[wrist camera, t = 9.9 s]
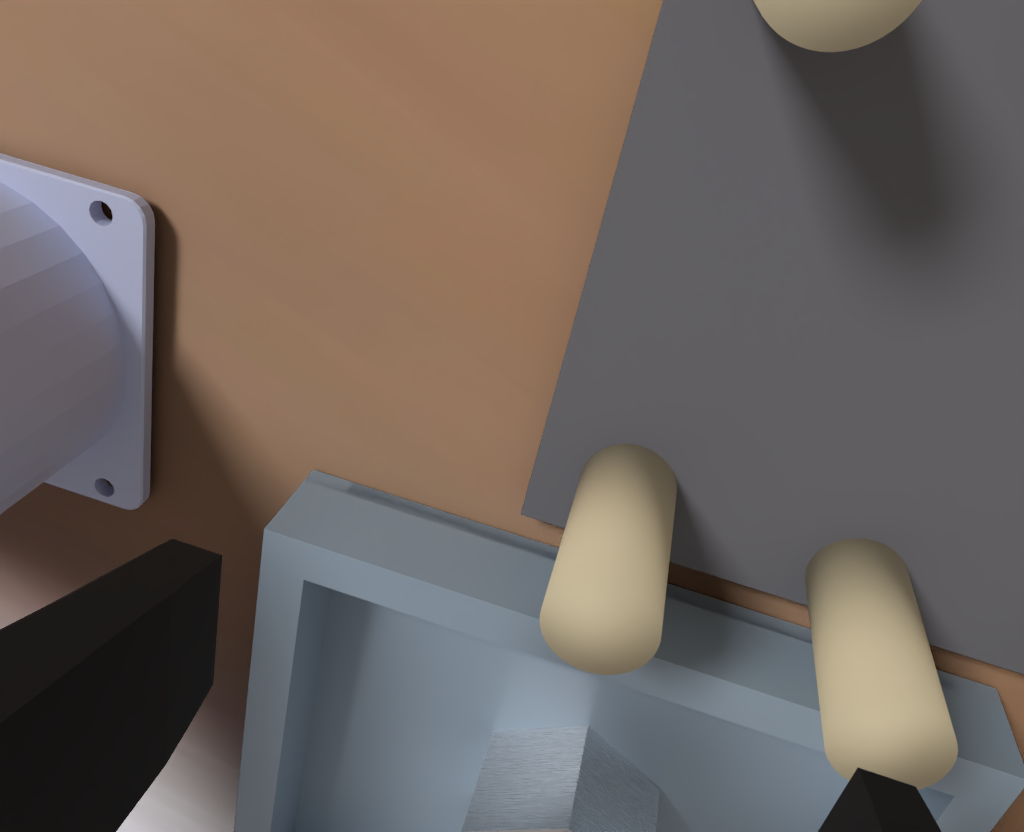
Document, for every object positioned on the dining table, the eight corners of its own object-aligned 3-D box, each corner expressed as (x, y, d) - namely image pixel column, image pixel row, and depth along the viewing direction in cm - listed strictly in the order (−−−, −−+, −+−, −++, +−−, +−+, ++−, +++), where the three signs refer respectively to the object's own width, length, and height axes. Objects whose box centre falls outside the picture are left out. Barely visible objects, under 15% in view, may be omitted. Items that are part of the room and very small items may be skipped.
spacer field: (526, 499, 20) (466, 654, 15) (717, -185, 13) (708, -259, 9) (1162, 701, 18) (1298, 933, 14) (1703, 51, 12) (2261, 101, 8)
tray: (266, 836, 27) (226, 911, 25) (313, 469, 21) (264, 528, 18) (767, 1018, 26) (770, 1114, 24) (996, 688, 19) (1029, 780, 17)
